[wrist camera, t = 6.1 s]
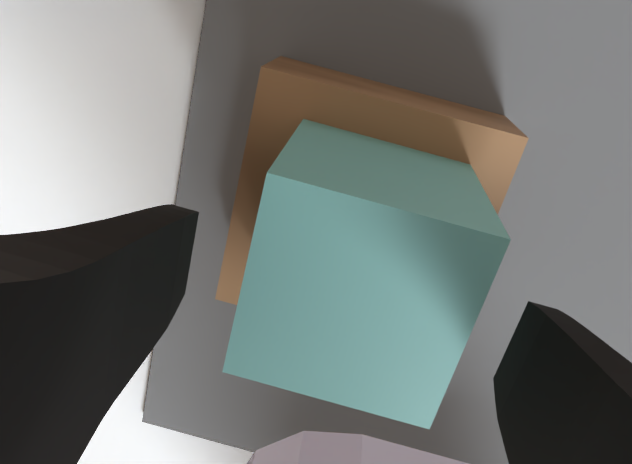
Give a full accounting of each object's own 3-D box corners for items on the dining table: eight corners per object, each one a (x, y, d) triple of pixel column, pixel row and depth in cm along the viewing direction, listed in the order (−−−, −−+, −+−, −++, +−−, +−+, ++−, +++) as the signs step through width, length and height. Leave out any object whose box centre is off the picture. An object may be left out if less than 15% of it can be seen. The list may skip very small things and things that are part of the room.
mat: (705, 569, 23) (708, 576, 23) (145, 416, 23) (142, 421, 23) (1079, 91, 15) (1091, 93, 15) (229, -134, 15) (227, -136, 15)
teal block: (416, 308, 16) (429, 429, 12) (267, 268, 16) (221, 371, 12) (470, 164, 15) (510, 239, 10) (303, 118, 15) (266, 173, 10)
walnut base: (431, 309, 20) (439, 360, 17) (238, 257, 20) (215, 299, 17) (504, 115, 17) (528, 138, 14) (280, 56, 17) (261, 66, 14)
